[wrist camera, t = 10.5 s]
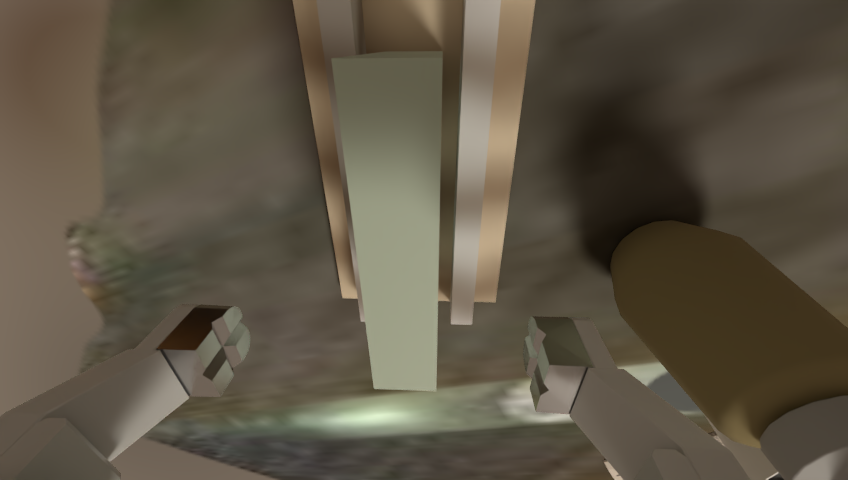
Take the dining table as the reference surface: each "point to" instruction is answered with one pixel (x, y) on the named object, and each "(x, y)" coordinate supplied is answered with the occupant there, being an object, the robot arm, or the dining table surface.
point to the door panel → (395, 205)
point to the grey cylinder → (750, 459)
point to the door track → (460, 123)
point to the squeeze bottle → (740, 343)
